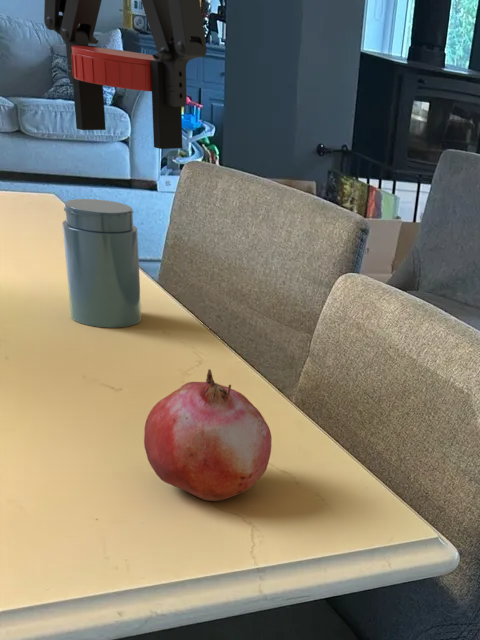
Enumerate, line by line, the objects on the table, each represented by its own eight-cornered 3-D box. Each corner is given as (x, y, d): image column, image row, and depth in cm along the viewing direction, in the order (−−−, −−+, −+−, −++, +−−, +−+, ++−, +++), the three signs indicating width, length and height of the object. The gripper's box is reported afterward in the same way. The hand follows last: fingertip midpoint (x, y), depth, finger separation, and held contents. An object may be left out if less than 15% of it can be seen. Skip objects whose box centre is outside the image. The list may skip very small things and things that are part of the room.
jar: (61, 322, 98) (50, 206, 91) (82, 304, 104) (73, 194, 98) (131, 331, 98) (125, 217, 92) (148, 312, 105) (144, 204, 98)
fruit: (158, 458, 73) (153, 338, 68) (274, 469, 74) (278, 352, 69) (132, 508, 65) (125, 378, 60) (263, 520, 67) (266, 394, 61)
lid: (126, 78, 81) (124, 49, 80) (197, 94, 78) (197, 64, 77) (50, 74, 74) (47, 42, 73) (126, 90, 72) (124, 57, 70)
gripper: (-31, -219, 67) (8, 117, 79) (186, -203, 60) (193, 162, 72) (49, -192, 73) (74, 117, 85) (256, -175, 66) (251, 159, 78)
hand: (129, 138), depth 78 cm, fingers closed on lid, 8 cm apart
